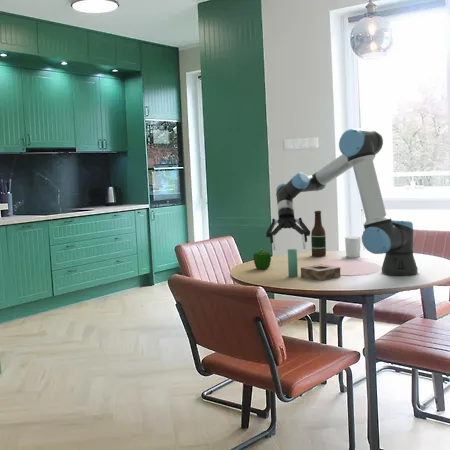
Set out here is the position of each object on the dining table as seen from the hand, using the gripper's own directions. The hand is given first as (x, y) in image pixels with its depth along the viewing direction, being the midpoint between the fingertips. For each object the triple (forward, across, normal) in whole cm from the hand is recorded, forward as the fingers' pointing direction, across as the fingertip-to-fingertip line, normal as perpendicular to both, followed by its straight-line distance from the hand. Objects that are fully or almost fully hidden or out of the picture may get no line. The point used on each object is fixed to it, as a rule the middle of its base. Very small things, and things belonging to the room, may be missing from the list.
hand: (289, 247), depth 265 cm
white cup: (-19, -36, -36) cm, 55 cm away
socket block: (+16, -12, -1) cm, 20 cm away
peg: (+14, -1, -3) cm, 14 cm away
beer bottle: (-24, -19, -41) cm, 51 cm away
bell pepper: (-1, +12, -18) cm, 22 cm away
